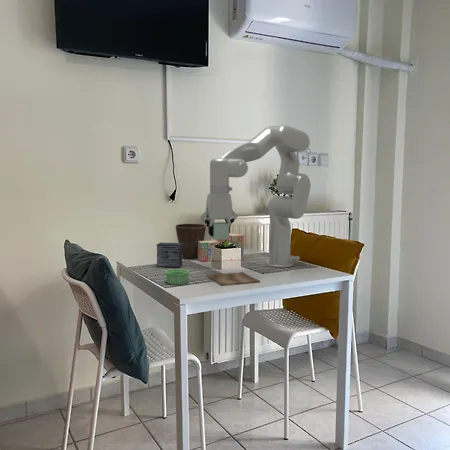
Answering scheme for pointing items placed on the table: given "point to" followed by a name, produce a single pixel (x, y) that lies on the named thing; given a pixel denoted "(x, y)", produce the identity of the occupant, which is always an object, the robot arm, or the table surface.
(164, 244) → the small box
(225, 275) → the walnut board
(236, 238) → the stack of blocks
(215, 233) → the sage cube
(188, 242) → the plant pot
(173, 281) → the ramekin
